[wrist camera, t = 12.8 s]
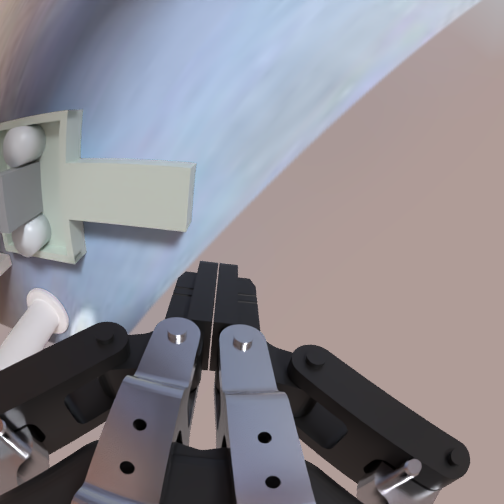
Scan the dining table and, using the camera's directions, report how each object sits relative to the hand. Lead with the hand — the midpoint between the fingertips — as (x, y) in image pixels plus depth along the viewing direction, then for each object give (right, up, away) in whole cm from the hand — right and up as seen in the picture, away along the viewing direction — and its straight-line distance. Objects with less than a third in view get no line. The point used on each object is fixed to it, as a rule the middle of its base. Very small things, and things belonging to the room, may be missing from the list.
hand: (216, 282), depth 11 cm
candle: (-25, -6, +16) cm, 30 cm away
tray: (-14, +7, +10) cm, 19 cm away
